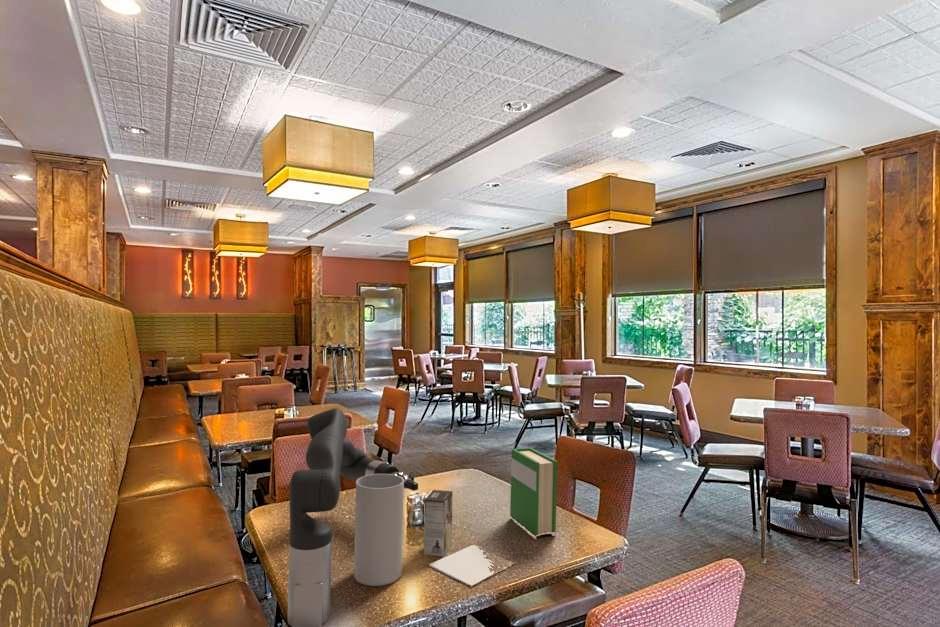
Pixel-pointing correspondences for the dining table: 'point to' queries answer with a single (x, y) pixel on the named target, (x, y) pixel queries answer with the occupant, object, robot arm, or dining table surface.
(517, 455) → the hardback book
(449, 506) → the coffee box
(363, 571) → the cylinder vase
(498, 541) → the dining table surface
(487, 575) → the mat
